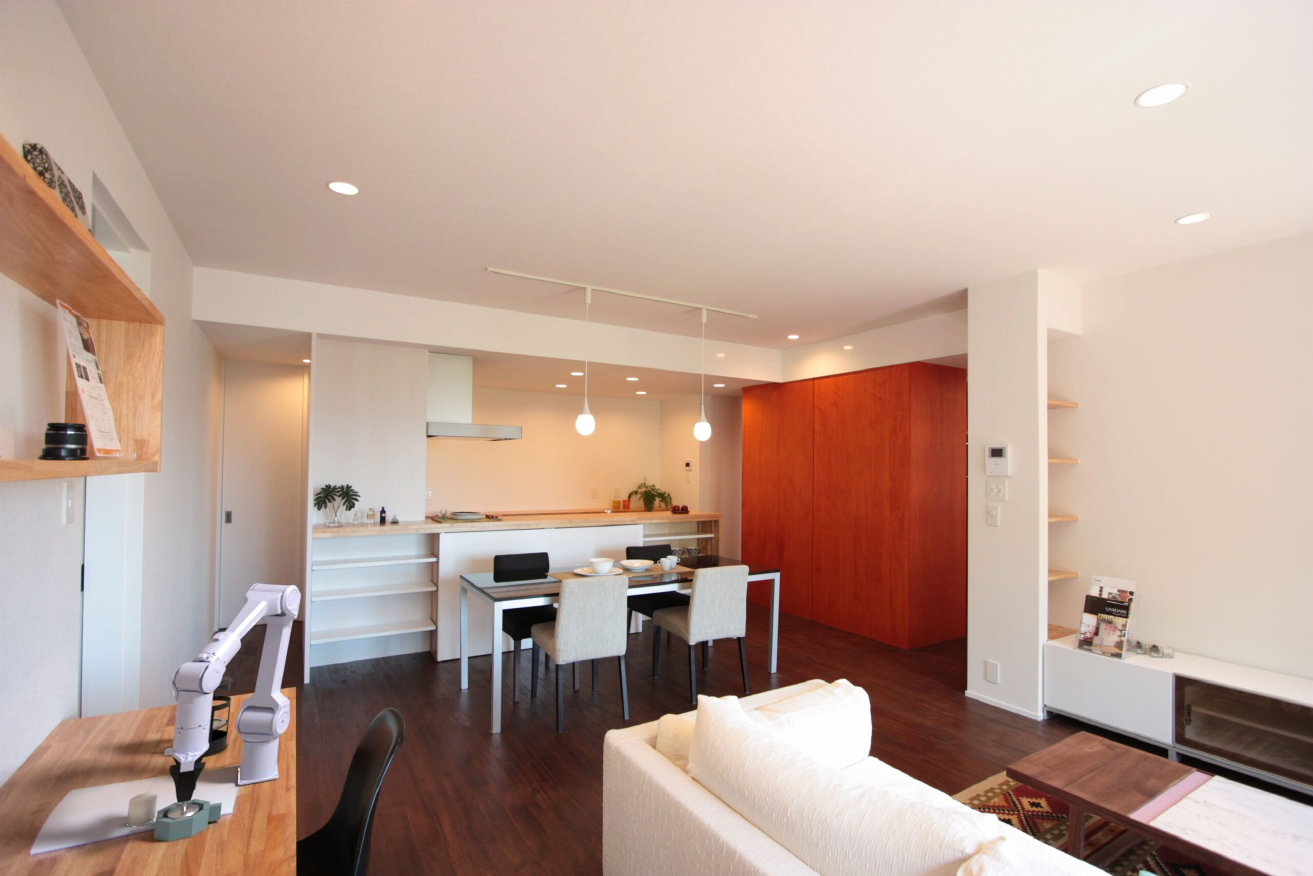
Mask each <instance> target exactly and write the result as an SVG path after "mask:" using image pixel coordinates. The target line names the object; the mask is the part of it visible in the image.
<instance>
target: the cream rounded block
mask: <svg viewBox="0 0 1313 876" xmlns="http://www.w3.org/2000/svg"><path fill="white" fill-rule="evenodd" d="M157 805H158V794H157V793H155V792H145V793H142V794H141V793H140V794H137V795H135V796H133V797H132V798H130V799H129V802H128V811H127V820H126V825H127V824H128V825H129V826H138V827H142V826H141V825H143V826H145V825H144V824H146V823H148V822H150V821H152V820H153V819H154V818H155V819H156V815H157V813H156V812H157ZM155 819H154V820H155ZM154 820H153V821H154ZM153 821H152V822H153ZM150 823H151V822H150ZM148 824H149V823H148ZM146 825H147V824H146ZM129 826H128V827H129Z"/></svg>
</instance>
